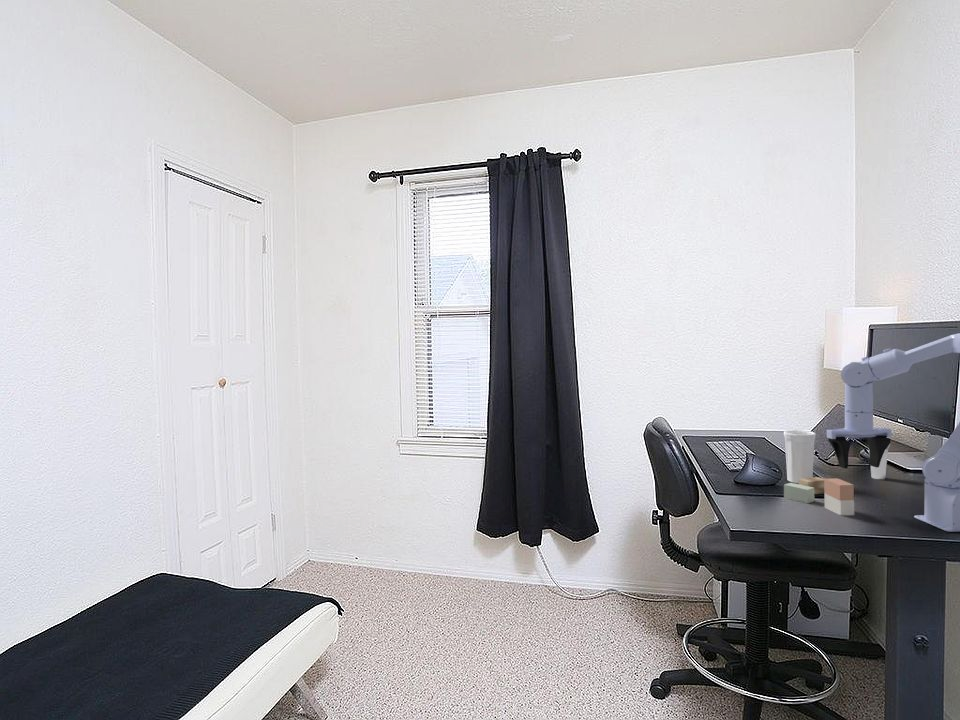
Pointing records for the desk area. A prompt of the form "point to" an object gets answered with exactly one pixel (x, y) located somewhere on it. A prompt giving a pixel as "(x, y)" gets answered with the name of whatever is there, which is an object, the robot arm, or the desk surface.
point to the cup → (799, 454)
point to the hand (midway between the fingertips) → (859, 467)
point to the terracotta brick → (839, 489)
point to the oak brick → (813, 484)
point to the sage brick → (799, 492)
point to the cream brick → (839, 505)
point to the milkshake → (880, 467)
